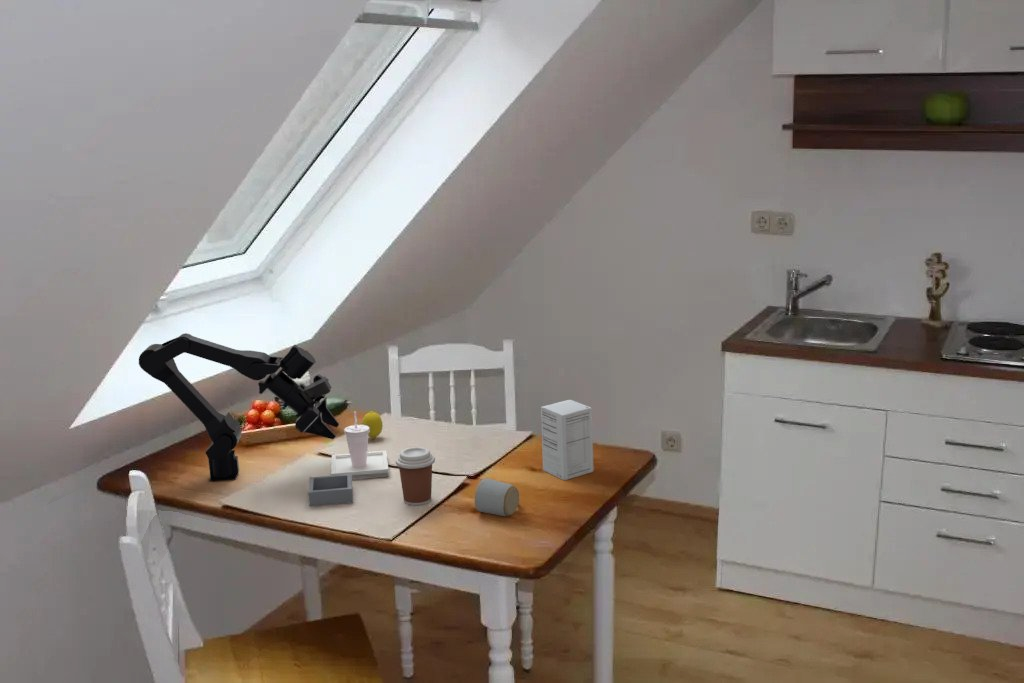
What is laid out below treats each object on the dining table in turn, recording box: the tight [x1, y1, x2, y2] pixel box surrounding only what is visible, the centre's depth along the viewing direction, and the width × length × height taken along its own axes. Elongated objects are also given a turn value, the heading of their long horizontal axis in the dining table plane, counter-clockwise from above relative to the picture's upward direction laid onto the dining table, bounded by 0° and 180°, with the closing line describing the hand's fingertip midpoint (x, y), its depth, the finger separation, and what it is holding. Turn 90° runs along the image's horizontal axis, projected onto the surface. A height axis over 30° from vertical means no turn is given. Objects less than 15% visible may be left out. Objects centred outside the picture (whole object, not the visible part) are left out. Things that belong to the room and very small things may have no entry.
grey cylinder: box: [474, 477, 520, 517], centre depth 239 cm, size 11×8×8 cm
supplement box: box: [540, 399, 594, 481], centre depth 260 cm, size 10×9×17 cm
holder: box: [307, 474, 354, 508], centre depth 250 cm, size 10×10×4 cm
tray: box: [330, 449, 390, 481], centre depth 268 cm, size 14×14×2 cm
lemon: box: [361, 410, 383, 440], centre depth 290 cm, size 6×6×8 cm
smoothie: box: [343, 410, 370, 467], centre depth 266 cm, size 6×6×14 cm
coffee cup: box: [395, 446, 436, 507], centre depth 246 cm, size 9×9×12 cm
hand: (336, 431), depth 265 cm, fingers open, 9 cm apart
